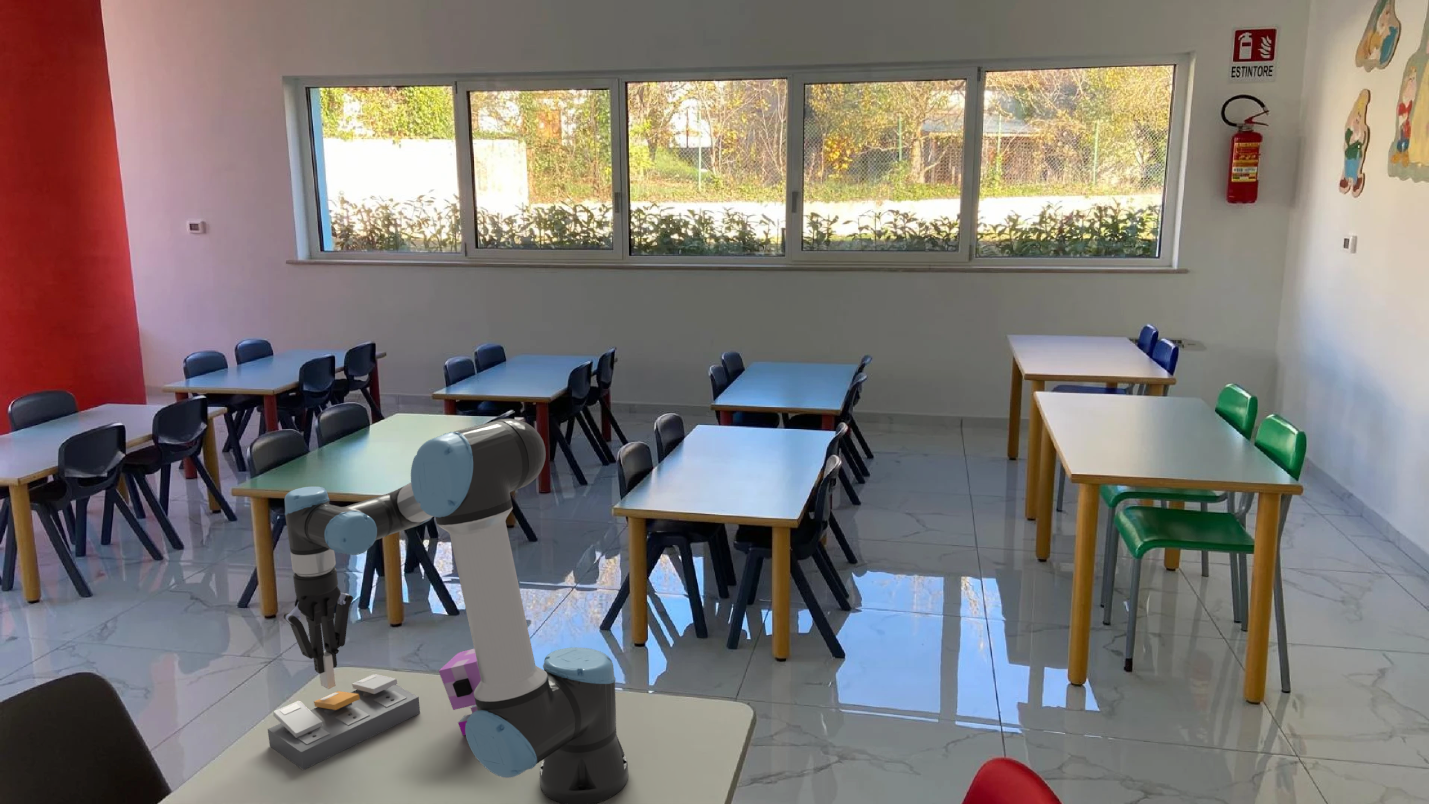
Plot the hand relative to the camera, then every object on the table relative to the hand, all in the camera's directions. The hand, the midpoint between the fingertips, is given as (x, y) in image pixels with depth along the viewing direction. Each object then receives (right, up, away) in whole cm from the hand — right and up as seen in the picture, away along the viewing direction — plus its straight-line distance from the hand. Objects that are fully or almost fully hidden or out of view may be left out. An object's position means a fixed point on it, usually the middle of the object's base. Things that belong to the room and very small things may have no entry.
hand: (328, 685), depth 188 cm
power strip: (+4, -8, -2) cm, 9 cm away
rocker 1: (-3, -5, -7) cm, 9 cm away
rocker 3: (+7, -2, +5) cm, 9 cm away
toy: (+30, -7, -1) cm, 31 cm away
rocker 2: (+2, -3, -1) cm, 4 cm away
